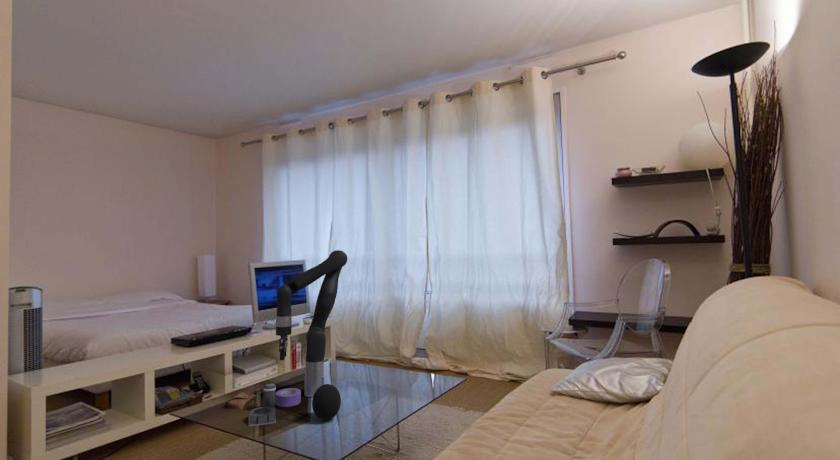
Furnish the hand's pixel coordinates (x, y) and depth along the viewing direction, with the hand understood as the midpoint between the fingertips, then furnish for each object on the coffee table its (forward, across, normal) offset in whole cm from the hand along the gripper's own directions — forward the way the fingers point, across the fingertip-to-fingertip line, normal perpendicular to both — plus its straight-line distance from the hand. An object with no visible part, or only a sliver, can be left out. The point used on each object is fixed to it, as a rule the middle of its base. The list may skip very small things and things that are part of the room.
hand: (283, 358), depth 203 cm
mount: (+21, -23, +6) cm, 32 cm away
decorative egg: (+22, -27, -21) cm, 41 cm away
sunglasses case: (+20, 0, +19) cm, 27 cm away
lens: (+20, -12, +5) cm, 24 cm away
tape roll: (+20, -4, -3) cm, 21 cm away
